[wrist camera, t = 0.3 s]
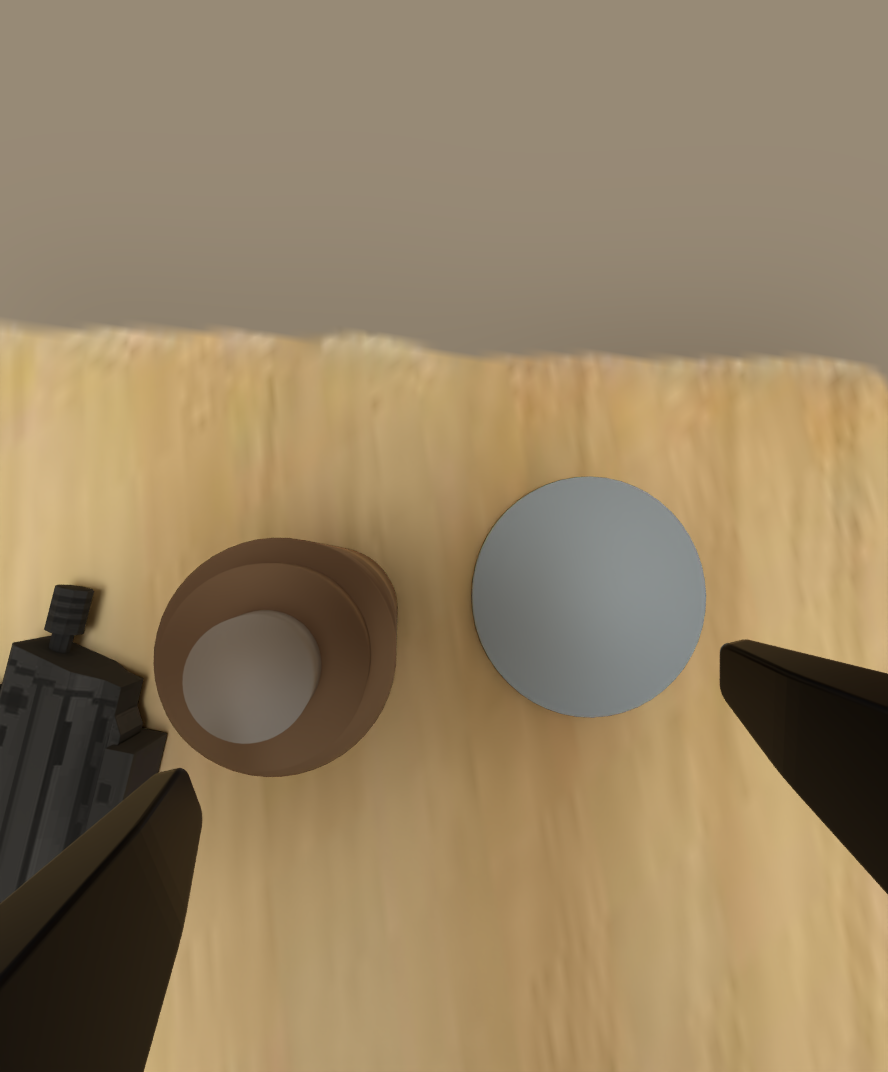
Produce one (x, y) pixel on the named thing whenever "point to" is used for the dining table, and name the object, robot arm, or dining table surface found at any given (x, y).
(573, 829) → the dining table surface
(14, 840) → the firearm
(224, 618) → the pepper mill
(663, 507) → the slate mat
